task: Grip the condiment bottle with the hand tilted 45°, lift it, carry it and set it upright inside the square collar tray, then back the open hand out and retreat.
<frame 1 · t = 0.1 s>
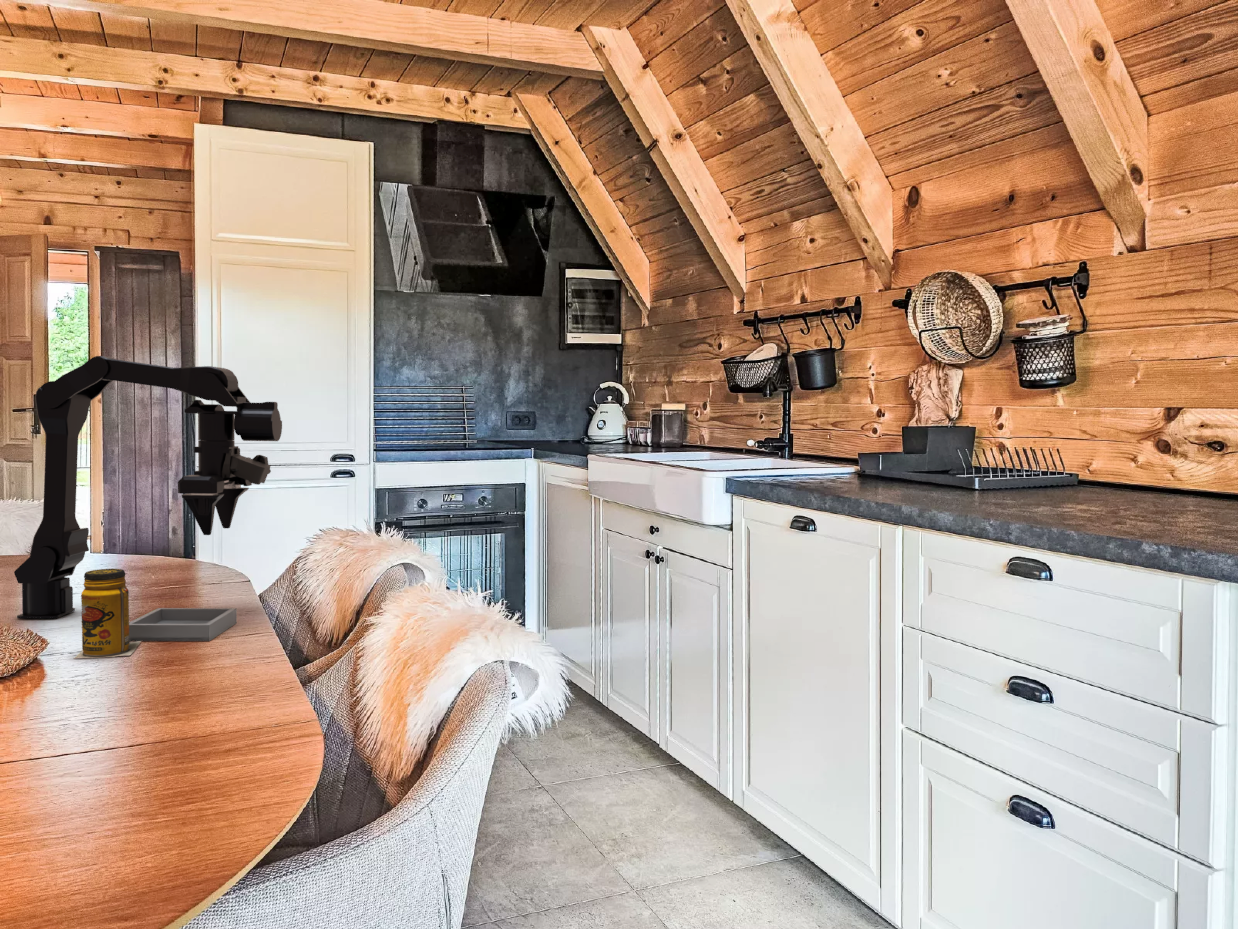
hand: (217, 531, 160), 15 cm above the table, tool pointing down, fingers open, 9 cm apart
collar tray: (182, 631, 149), on the table
condiment: (108, 652, 136), on the table
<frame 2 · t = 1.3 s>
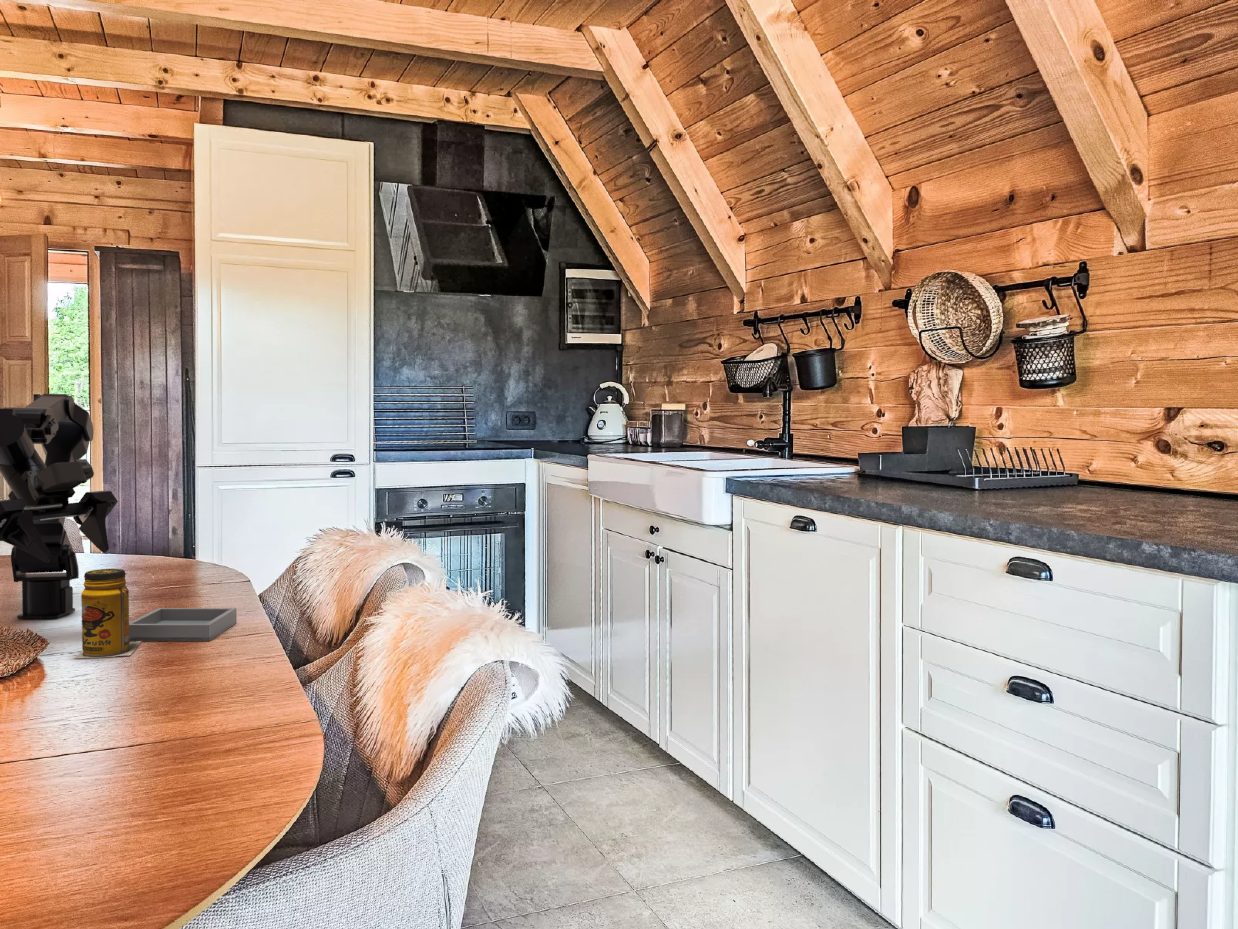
hand: (78, 555, 140), 13 cm above the table, tool tilted 45°, fingers open, 9 cm apart
nothing on the table moved.
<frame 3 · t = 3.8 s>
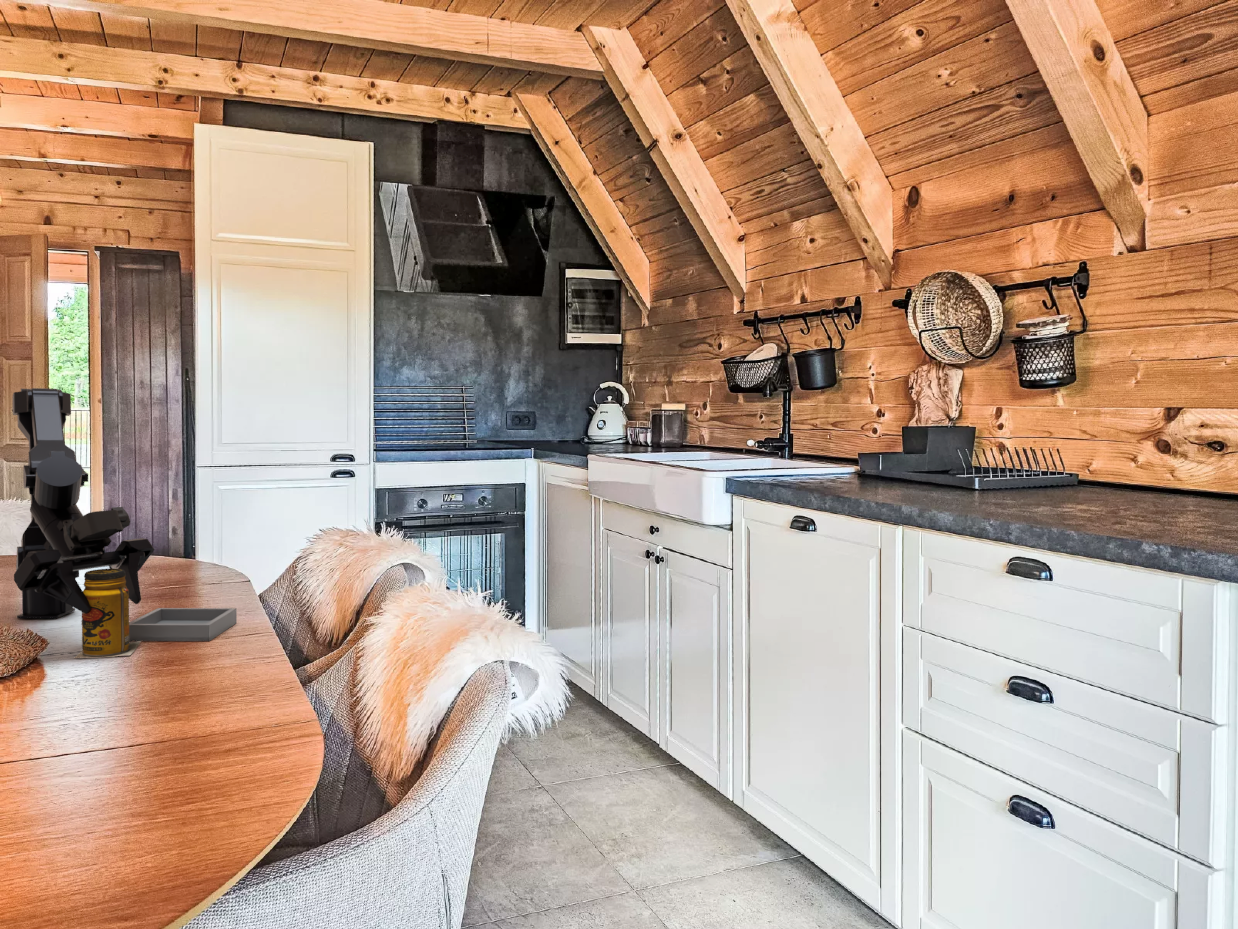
hand: (114, 606, 135), 7 cm above the table, tool tilted 45°, fingers open, 7 cm apart
condiment: (108, 652, 136), on the table, touching gripper
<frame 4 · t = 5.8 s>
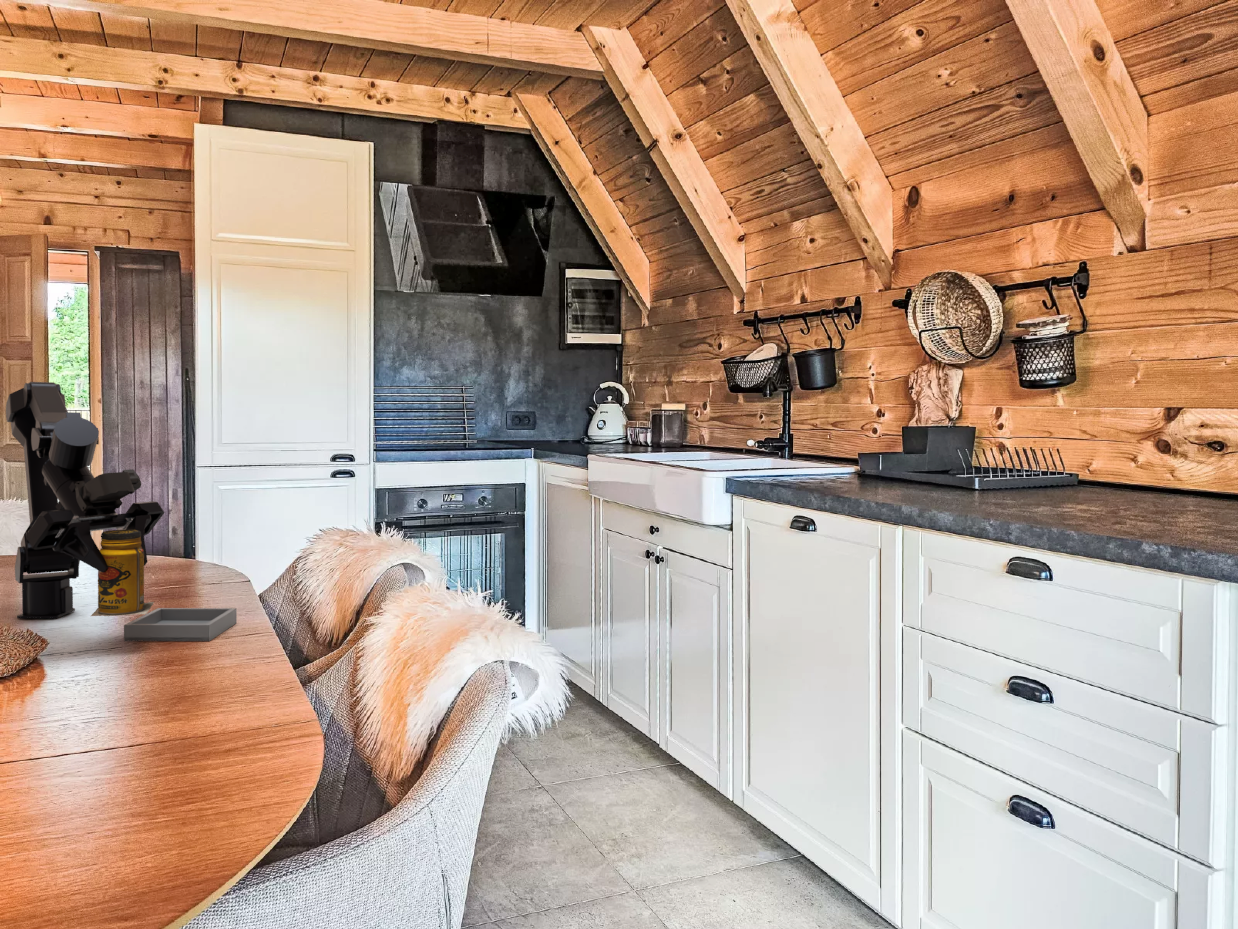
hand: (125, 567, 137), 12 cm above the table, tool tilted 45°, fingers closed on condiment, 6 cm apart
condiment: (123, 611, 139), point 5 cm above the table, touching gripper
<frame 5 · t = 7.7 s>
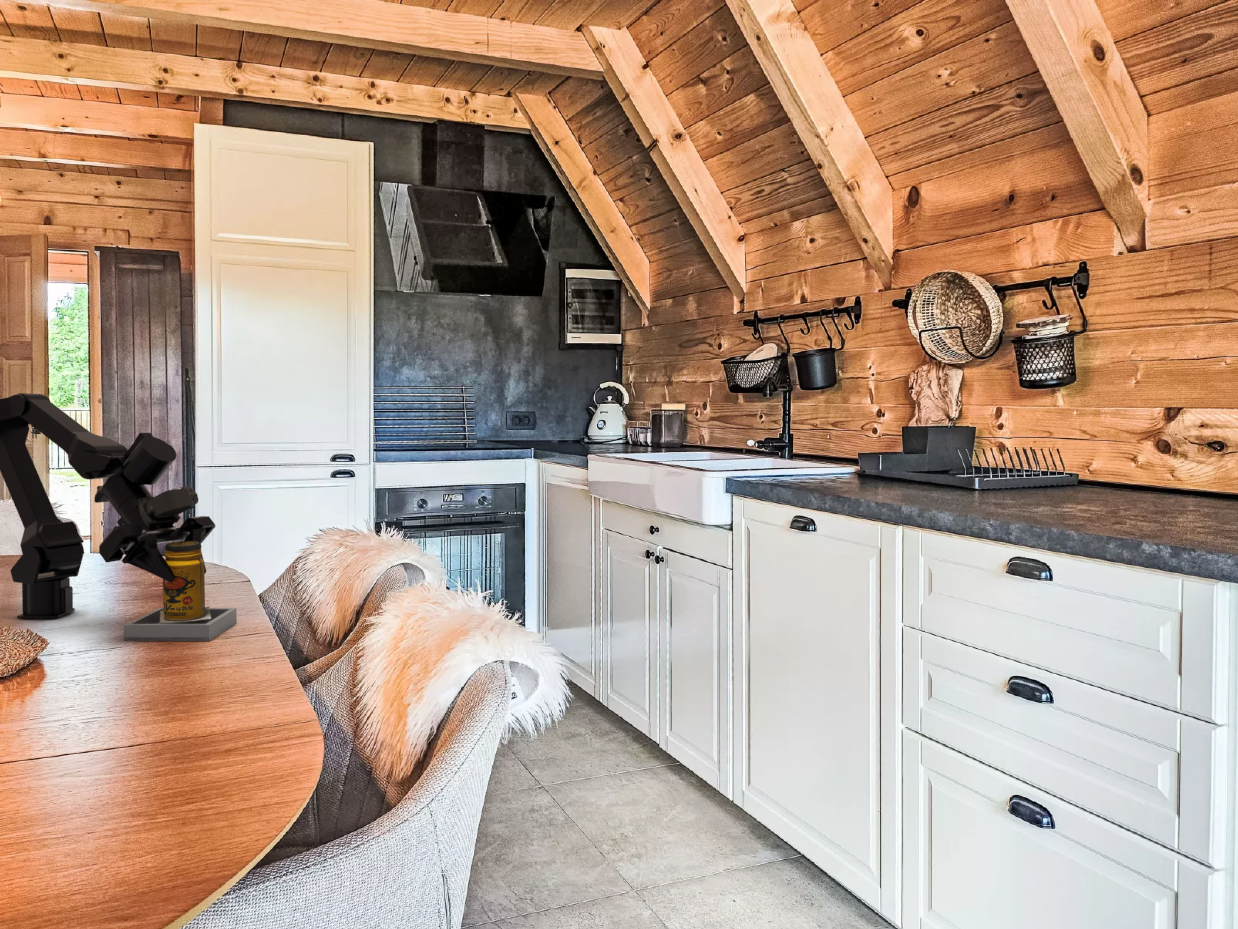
hand: (188, 577, 148), 9 cm above the table, tool tilted 45°, fingers closed on condiment, 6 cm apart
condiment: (185, 617, 149), point 2 cm above the table, touching collar tray, gripper
when the fingers open (9 cm above the table, at t = 8.0 s): condiment stays where it is, resting on collar tray.
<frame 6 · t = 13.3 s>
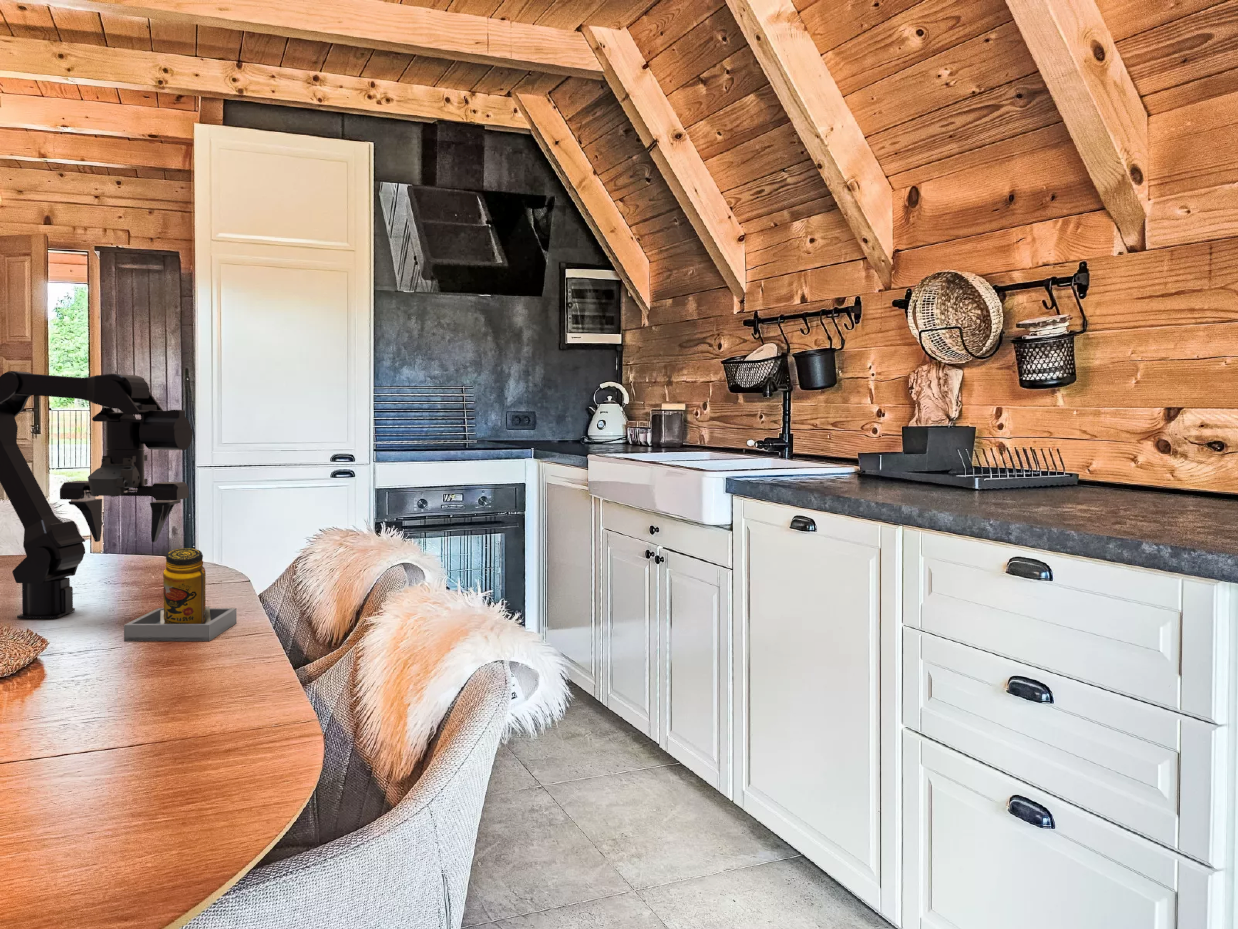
hand: (125, 541, 157), 13 cm above the table, tool pointing down, fingers open, 9 cm apart
condiment: (185, 621, 149), point 1 cm above the table, touching collar tray
at the end: condiment 0.9 cm off-centre on the collar tray, point 1.4 cm above the collar tray's base; condiment tilted 14°; the gripper is holding nothing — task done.
